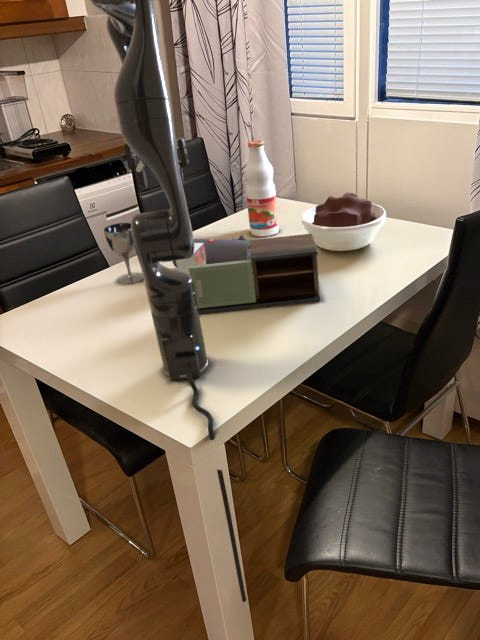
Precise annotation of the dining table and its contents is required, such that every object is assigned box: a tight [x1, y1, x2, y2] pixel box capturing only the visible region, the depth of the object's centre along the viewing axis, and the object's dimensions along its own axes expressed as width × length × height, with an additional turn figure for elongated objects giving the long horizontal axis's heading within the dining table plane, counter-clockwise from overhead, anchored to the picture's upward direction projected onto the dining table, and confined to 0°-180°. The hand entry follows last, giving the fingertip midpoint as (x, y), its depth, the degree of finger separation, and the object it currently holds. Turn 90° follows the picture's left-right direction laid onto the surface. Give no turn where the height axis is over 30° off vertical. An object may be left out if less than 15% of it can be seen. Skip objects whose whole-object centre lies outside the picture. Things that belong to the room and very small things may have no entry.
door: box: [189, 260, 256, 308], centre depth 144 cm, size 2×15×11 cm, turn 95°
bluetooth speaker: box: [171, 238, 251, 269], centre depth 166 cm, size 23×9×10 cm
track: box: [198, 246, 321, 315], centre depth 144 cm, size 3×32×13 cm, turn 95°
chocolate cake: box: [300, 192, 387, 252], centre depth 174 cm, size 25×25×15 cm
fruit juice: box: [243, 139, 280, 237], centre depth 185 cm, size 9×9×28 cm
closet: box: [248, 233, 320, 300], centre depth 150 cm, size 10×16×13 cm, turn 95°
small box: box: [176, 243, 207, 275], centre depth 159 cm, size 8×6×10 cm
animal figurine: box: [230, 233, 250, 241], centre depth 181 cm, size 12×4×5 cm
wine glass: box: [103, 222, 144, 285], centre depth 164 cm, size 8×8×15 cm
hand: (162, 185), depth 143 cm, fingers open, 8 cm apart
